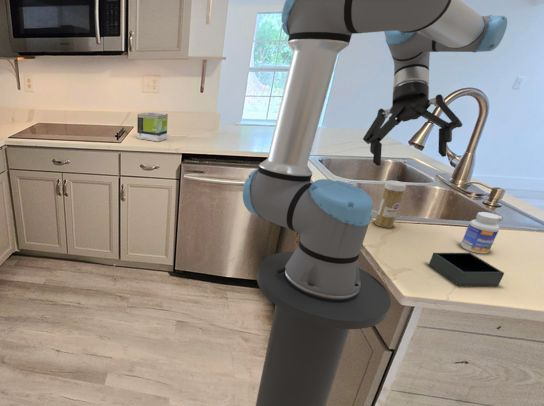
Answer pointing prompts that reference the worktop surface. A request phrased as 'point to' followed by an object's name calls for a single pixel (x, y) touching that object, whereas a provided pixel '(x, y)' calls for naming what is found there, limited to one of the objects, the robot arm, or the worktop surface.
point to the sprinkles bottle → (389, 203)
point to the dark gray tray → (466, 269)
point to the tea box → (152, 126)
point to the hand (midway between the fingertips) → (407, 159)
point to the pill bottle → (481, 233)
